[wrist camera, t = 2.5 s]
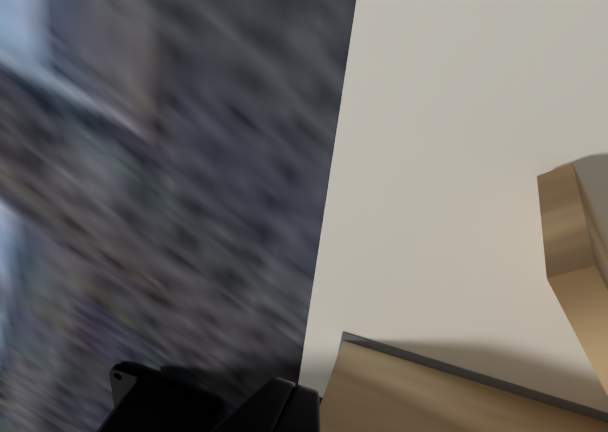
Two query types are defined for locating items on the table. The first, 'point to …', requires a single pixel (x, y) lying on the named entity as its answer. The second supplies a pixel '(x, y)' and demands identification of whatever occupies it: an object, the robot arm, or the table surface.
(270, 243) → the table surface
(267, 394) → the robot arm
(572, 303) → the hinged fence panel
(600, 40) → the card
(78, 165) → the table surface
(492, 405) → the fixed fence panel
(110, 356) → the table surface
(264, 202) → the table surface
